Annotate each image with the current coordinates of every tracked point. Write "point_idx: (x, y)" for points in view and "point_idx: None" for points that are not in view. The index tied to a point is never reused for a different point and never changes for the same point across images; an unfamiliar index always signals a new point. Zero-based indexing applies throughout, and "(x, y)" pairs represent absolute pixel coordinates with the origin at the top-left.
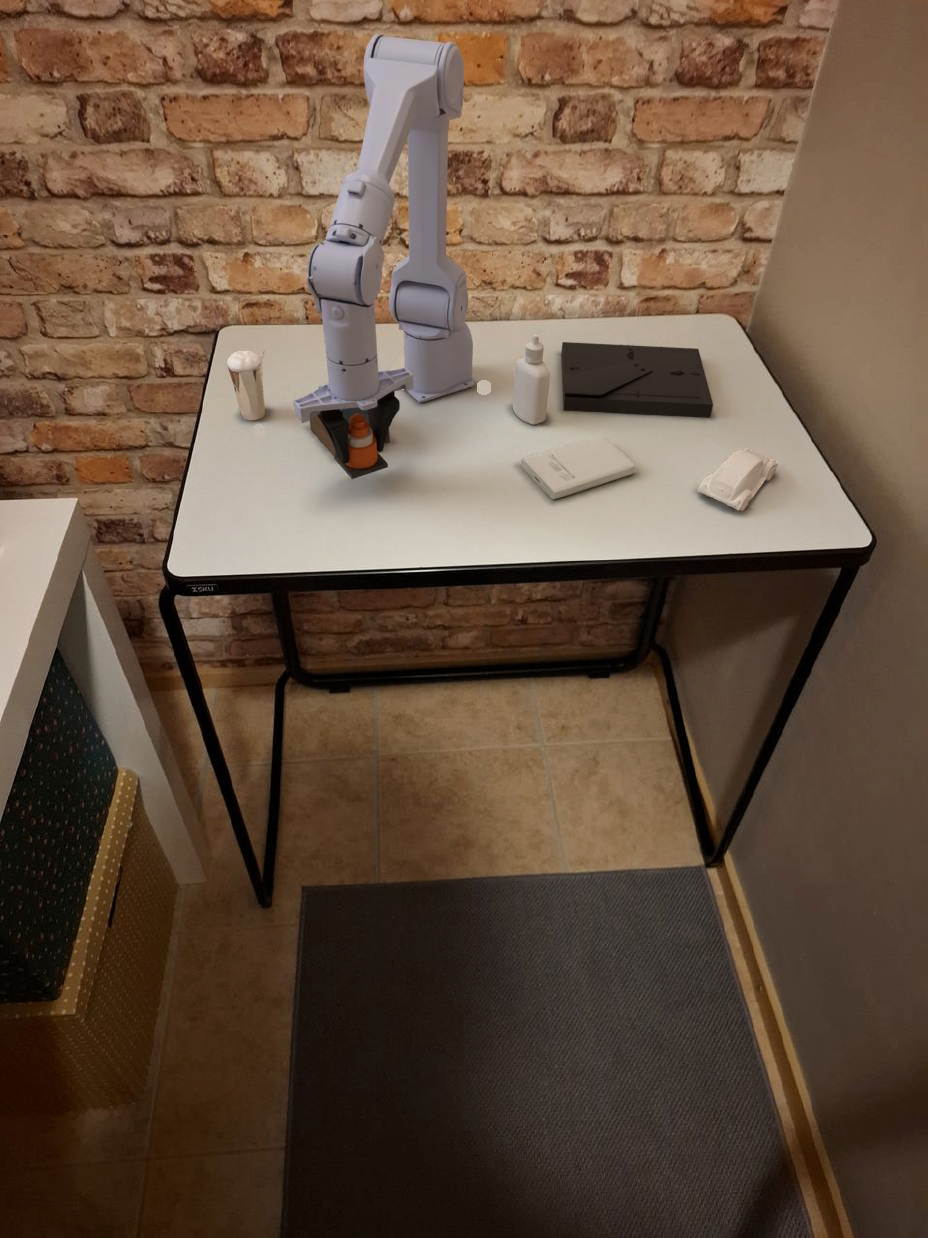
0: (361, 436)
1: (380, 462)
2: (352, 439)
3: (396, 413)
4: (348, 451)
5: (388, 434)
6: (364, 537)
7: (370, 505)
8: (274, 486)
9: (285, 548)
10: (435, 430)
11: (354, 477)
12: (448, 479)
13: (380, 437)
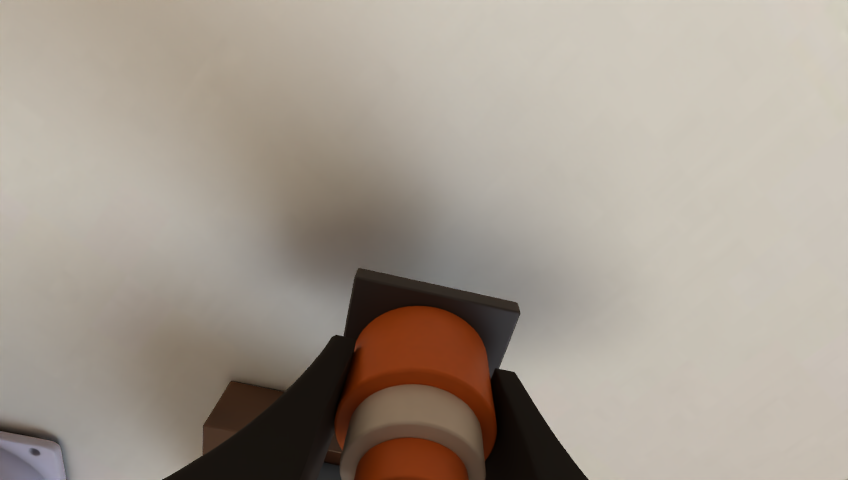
0: (435, 444)
1: (375, 298)
2: (479, 454)
3: (171, 475)
4: (513, 408)
5: (222, 400)
6: (633, 77)
7: (483, 200)
8: (608, 434)
9: (836, 224)
10: (76, 335)
11: (507, 302)
12: (169, 118)
13: (335, 387)
